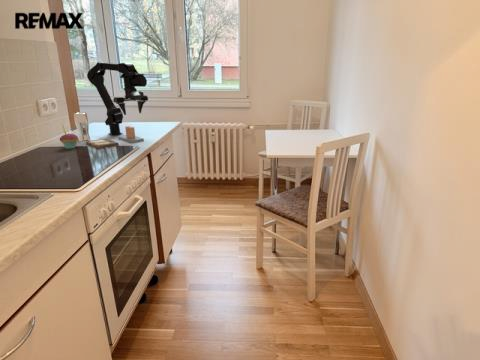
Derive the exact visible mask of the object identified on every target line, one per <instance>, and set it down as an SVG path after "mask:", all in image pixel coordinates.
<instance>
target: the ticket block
mask: <svg viewBox="0 0 480 360" xmlns="http://www.w3.org/2000/svg"><path fill="white" fill-rule="evenodd" d="M85 145H87V146H89V147H91V148H94V149H96V150H101V149H100V148H103V149H106V148H105V147H108V148H115V147H119V145H120V143H119V142H117V141H115V140H112V139H109V138H99V139H92V140H87V141H85Z"/></svg>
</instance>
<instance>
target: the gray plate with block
mask: <svg viewBox="0 0 480 360" xmlns="http://www.w3.org/2000/svg"><path fill="white" fill-rule="evenodd" d="M124 128H125V135H117V136H118V140H120V141H124V142H126V143H129V144H136V143H141V142H145V138H143V137H140V136H137V135H136V132H135V131H136V129H135V127H134V126H131V125H126V126H125V127H124Z"/></svg>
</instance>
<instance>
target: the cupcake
mask: <svg viewBox="0 0 480 360" xmlns="http://www.w3.org/2000/svg"><path fill="white" fill-rule="evenodd" d="M61 127H62V130H63V132H64V134H63V135H61V136H60V138H59V142H60V143H62V144H63V146H64V148H65V149H66V150H67V149H69V150H71V149H74V148H76V147H77V142H78V141H79V135H76V134H75V133H67V132H66V130H65V126H63V124H61Z"/></svg>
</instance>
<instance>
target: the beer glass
mask: <svg viewBox="0 0 480 360" xmlns="http://www.w3.org/2000/svg"><path fill="white" fill-rule="evenodd" d="M88 117H89V116H88V113H87V112H74V113H73V119H74V124H75V128H76V130H77V132H78V139H79V140H78V141H80V142H86V141H91V135H90V132H89V129H90V127H89V118H88Z"/></svg>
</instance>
